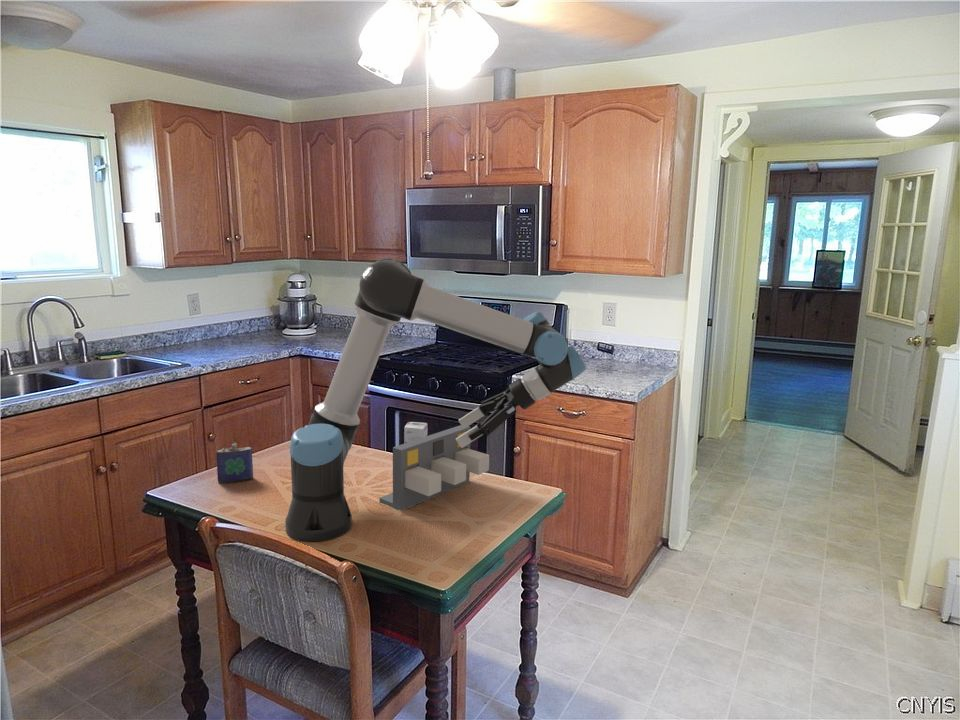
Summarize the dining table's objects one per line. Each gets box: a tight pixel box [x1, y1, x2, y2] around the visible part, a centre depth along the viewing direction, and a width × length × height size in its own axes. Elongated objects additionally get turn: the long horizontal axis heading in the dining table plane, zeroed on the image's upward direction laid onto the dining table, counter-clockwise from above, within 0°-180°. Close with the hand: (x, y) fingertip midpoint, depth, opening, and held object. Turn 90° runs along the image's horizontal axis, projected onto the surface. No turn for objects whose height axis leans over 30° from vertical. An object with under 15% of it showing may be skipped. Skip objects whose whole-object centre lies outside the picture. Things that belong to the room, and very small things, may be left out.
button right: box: [455, 448, 490, 476], centre depth 172 cm, size 4×10×4 cm, turn 51°
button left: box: [404, 466, 441, 496], centre depth 158 cm, size 4×10×4 cm, turn 51°
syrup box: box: [403, 421, 428, 444], centre depth 183 cm, size 6×6×14 cm
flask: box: [215, 442, 254, 484], centre depth 174 cm, size 9×3×11 cm, turn 114°
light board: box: [378, 424, 472, 512], centre depth 169 cm, size 26×8×16 cm, turn 141°
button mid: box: [431, 456, 466, 485], centre depth 165 cm, size 4×10×4 cm, turn 51°
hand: (459, 433), depth 164 cm, fingers open, 13 cm apart
